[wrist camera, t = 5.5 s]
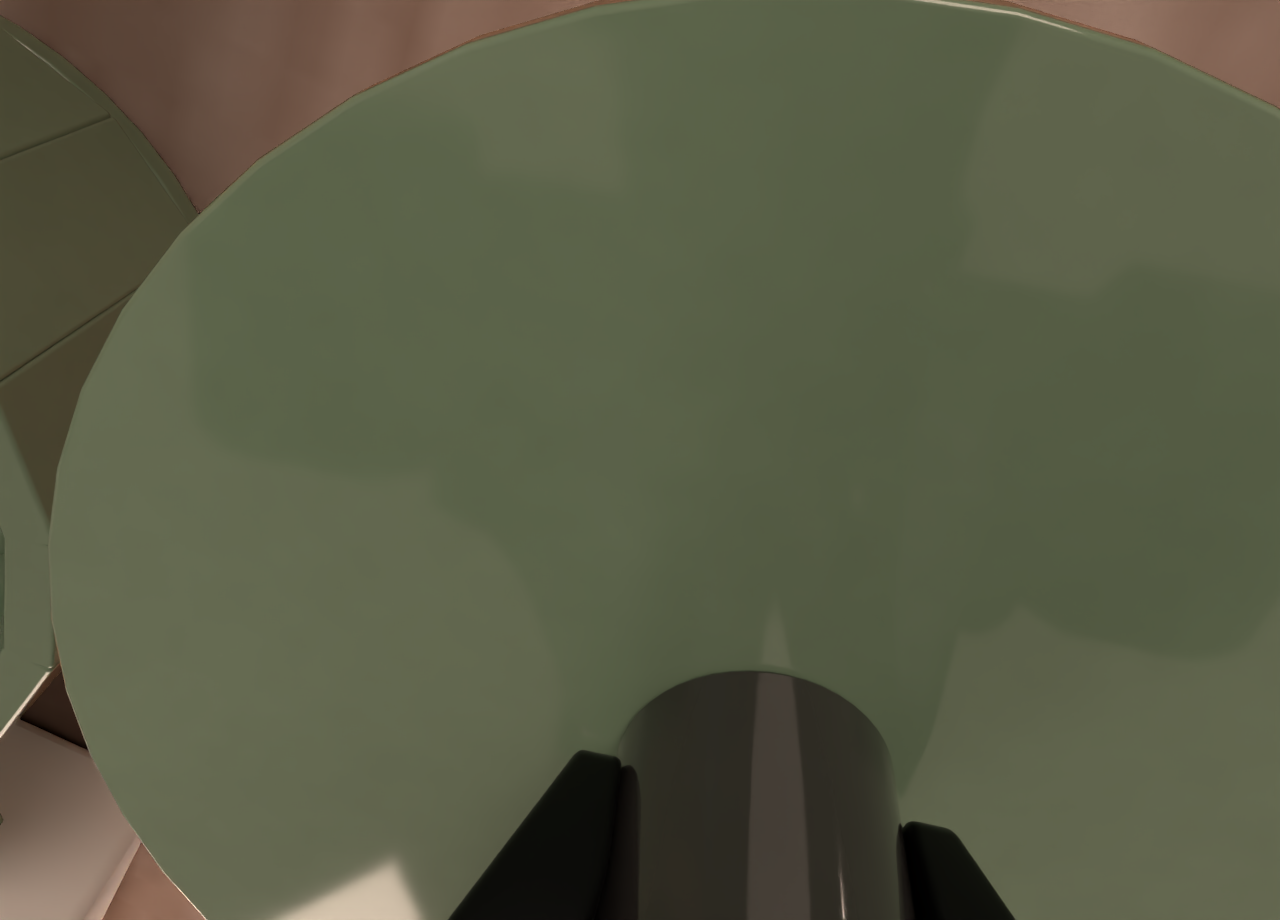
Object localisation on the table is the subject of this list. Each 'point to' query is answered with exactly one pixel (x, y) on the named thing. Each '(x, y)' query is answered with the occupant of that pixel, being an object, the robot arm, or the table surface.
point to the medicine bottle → (57, 830)
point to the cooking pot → (59, 307)
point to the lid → (705, 476)
